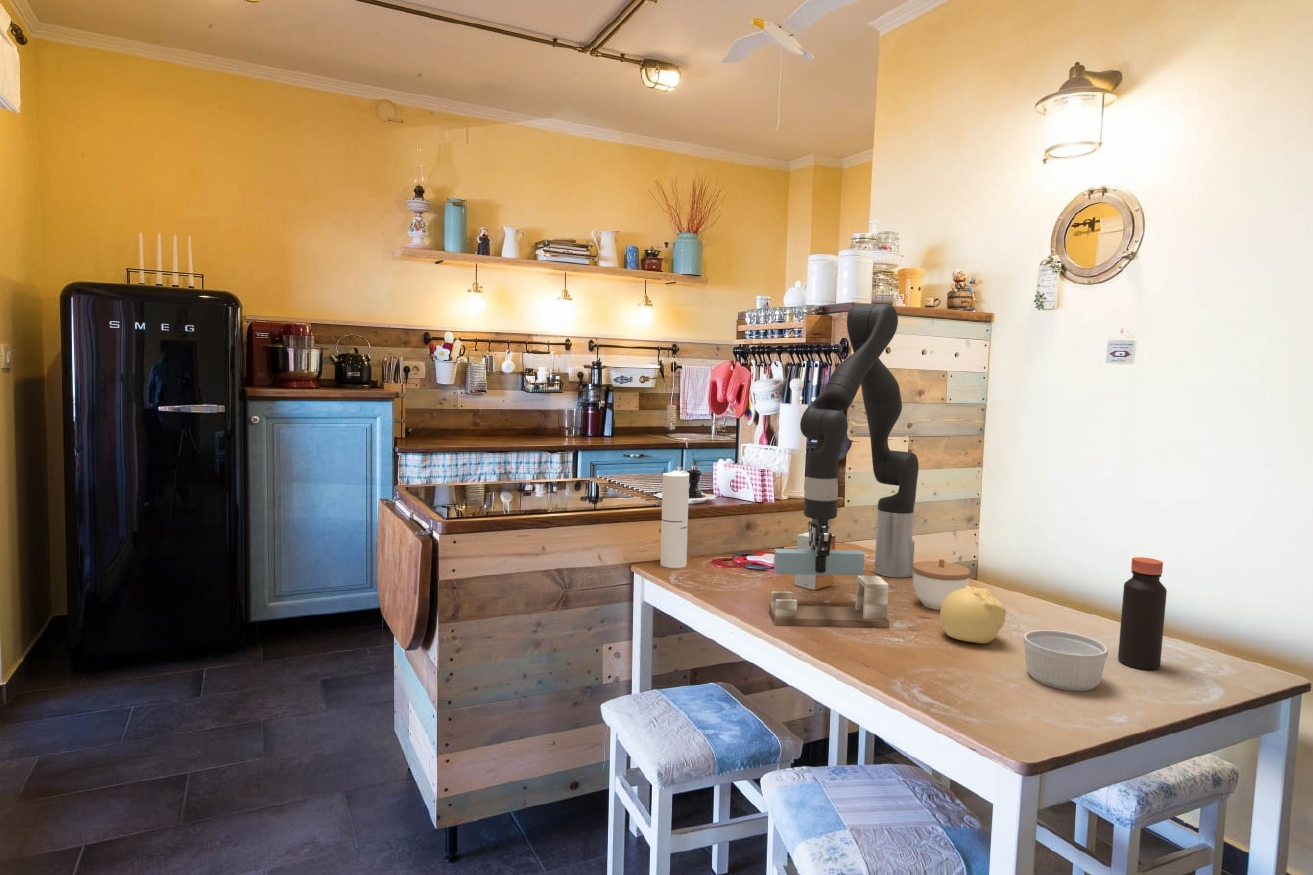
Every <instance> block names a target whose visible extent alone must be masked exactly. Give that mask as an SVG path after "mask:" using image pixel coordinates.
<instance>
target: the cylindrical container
mask: <svg viewBox="0 0 1313 875" xmlns="http://www.w3.org/2000/svg"><path fill="white" fill-rule="evenodd" d="M689 489H690V474H689V473H686V472H684V473H683V472H665V473H663V474H662V493H661V494H662V495H661V530H660V531H661V532H660V534H661V535H660V538H661V539H660V566H661V567H664V568H669V569H681V568H685V567H686V566H687V560H688V557H687V556H688V528H689V527H688V524H689V523H688V521H689V496H690V490H689Z"/></svg>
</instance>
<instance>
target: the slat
mask: <svg viewBox="0 0 1313 875" xmlns="http://www.w3.org/2000/svg"><path fill="white" fill-rule="evenodd" d="M822 551H824V550H822ZM773 552H774V553H773V557H774V558H773V571H774V573H775V574H776V575H793V576H794V575H833V576H865V575H864V574H865V573H864V572H865V571H864V569H865V553H864V552H863V551H862V550H860V549H858V550H857V549H835V550H830V554H829V556H827V557H826V571H825V572H824V573H817V572H816V571H815V564H816V555H815V553H816V550H807V549H797V548H795V549H794V548H793V549H792V548H774V551H773Z"/></svg>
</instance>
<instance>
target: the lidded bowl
mask: <svg viewBox="0 0 1313 875" xmlns="http://www.w3.org/2000/svg"><path fill="white" fill-rule="evenodd" d="M970 577H971V570H970V569H969V568H968V567H966V566H963V565H960V564H957V563H952V562H947V561H946V562H945V559H943V558H939V559H938V560H937V561H936V560H921V561H918V562H915V563H914V562H913V576H912V586H913V590H914V592H915V595H916V596H917V598H918V599H919V601H921V603H922V605H923V606H924V607H926V608H928V609H933V610H937V611H940V609H941V605H942V603H943V601H944V599H945V598H946V597H947V596H948V595H949V594H950V593H951V592H953V591H955V590H958V589H963V588H965V586H966V585H967V586H970Z"/></svg>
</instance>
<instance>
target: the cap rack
mask: <svg viewBox="0 0 1313 875" xmlns="http://www.w3.org/2000/svg"><path fill="white" fill-rule="evenodd" d="M889 586H890V585H889V583H887V582H886V581H885V580H884V579H883V578H882V577H881V576H880V575H864V576H863V575H856V594H855V606H824V605H823V606H820V605H817V606H816V605H810V606H809V605H798V600H797V599H792V596H793V593H792V591H781V590H780V591H776V590H775V591H773V590H772V591H771V597H770V599H771V600H770V604H769V607H768V613H769V615H770V617H771V618H772V621H773V623H774V625H775V626H789V627H790V626H795V627H796V626H798V627H802V626H803V627H832V626H834V627H835V628H836V627H837V628H844V627H845V628H879V629H880V628H882V629H883V628H884V629H889V628H890V620H889V619H888V601H889V600H888V599H889ZM834 627H833V628H834Z"/></svg>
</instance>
